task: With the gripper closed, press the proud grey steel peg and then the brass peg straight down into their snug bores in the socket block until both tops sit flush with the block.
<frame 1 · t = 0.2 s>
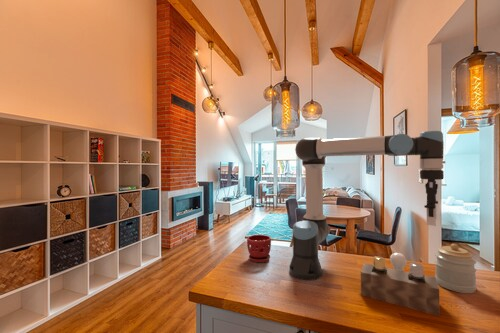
hand: (431, 221, 94), 28 cm above the worktop, fingers open, 13 cm apart
plant pot: (259, 259, 127), on the worktop
jar: (454, 286, 98), on the worktop
brass peg: (379, 268, 92), point 10 cm above the worktop, slide at 0.0 cm
socket block: (397, 298, 89), on the worktop
steel peg: (416, 276, 85), point 10 cm above the worktop, slide at 0.0 cm
lightbulb: (398, 277, 105), on the worktop
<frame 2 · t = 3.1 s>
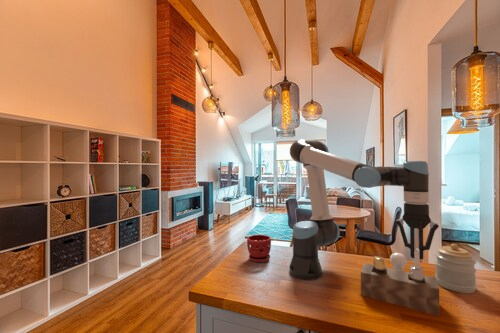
hand: (416, 267, 85), 13 cm above the worktop, fingers closed
steel peg: (416, 278, 85), point 9 cm above the worktop, slide at 1.0 cm, touching gripper
everything else where it was.
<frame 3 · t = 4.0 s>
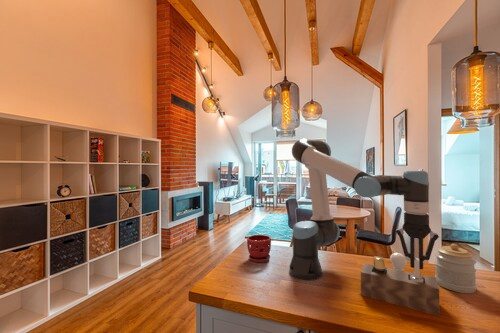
hand: (416, 276, 85), 10 cm above the worktop, fingers closed
steel peg: (416, 288, 85), point 5 cm above the worktop, slide at 4.6 cm, touching gripper
everything else where it was.
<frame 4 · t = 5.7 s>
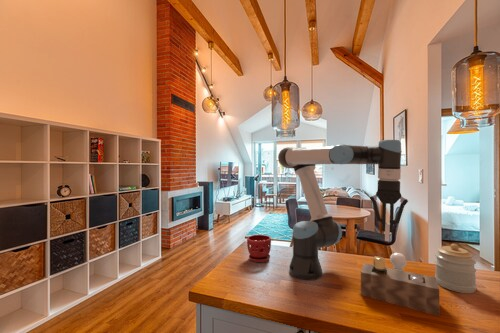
hand: (387, 240, 91), 22 cm above the worktop, fingers closed
steel peg: (416, 288, 85), point 5 cm above the worktop, slide at 4.6 cm
everything else where it was.
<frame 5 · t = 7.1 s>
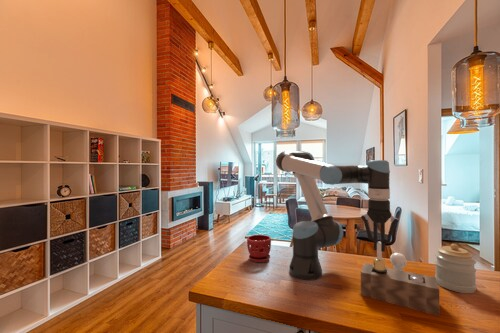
hand: (379, 258, 92), 14 cm above the worktop, fingers closed
brass peg: (379, 269, 92), point 10 cm above the worktop, slide at 0.5 cm, touching gripper
everything else where it was.
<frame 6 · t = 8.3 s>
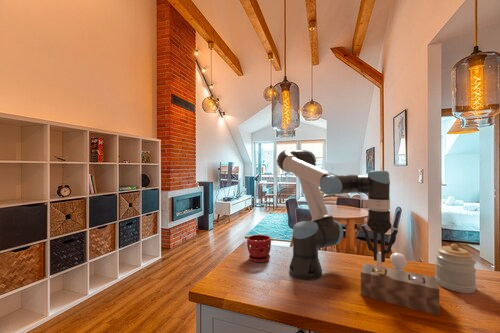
hand: (379, 269, 92), 10 cm above the worktop, fingers closed
brass peg: (379, 280, 92), point 5 cm above the worktop, slide at 4.6 cm, touching gripper
everything else where it was.
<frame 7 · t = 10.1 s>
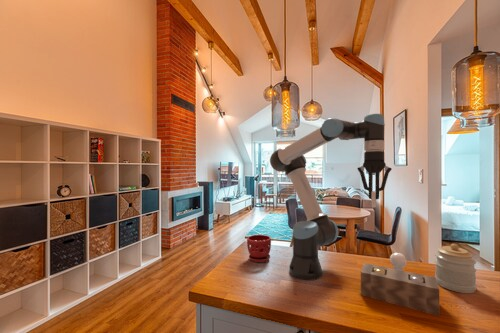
hand: (373, 206, 99), 33 cm above the worktop, fingers closed
brass peg: (379, 280, 92), point 5 cm above the worktop, slide at 4.6 cm
everything else where it was.
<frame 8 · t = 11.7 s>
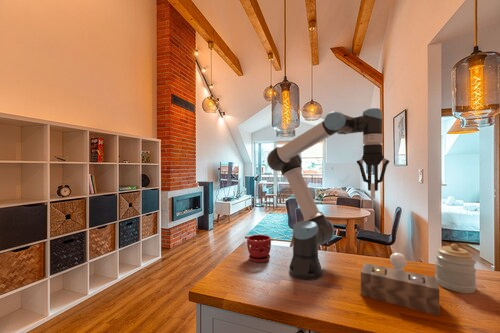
hand: (372, 198, 102), 36 cm above the worktop, fingers closed
nothing on the worktop moved.
at the end: steel peg slide at 4.6 cm; brass peg slide at 4.6 cm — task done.
